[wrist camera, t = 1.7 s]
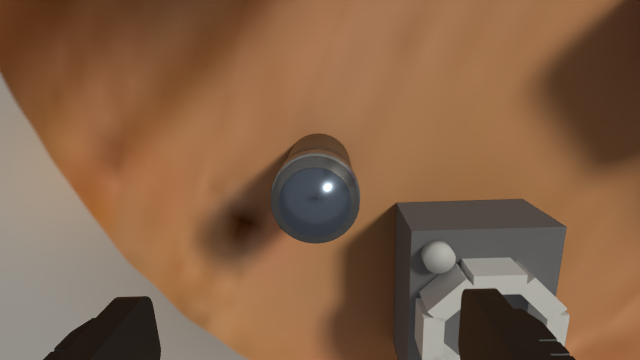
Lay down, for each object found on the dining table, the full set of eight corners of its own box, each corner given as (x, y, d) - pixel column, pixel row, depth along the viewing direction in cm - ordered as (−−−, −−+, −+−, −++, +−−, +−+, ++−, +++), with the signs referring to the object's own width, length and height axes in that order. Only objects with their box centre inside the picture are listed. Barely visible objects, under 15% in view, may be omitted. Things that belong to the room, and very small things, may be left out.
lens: (284, 133, 25) (264, 159, 18) (350, 131, 25) (361, 156, 17) (288, 196, 27) (272, 247, 19) (351, 194, 27) (362, 245, 19)
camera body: (396, 202, 27) (419, 246, 20) (522, 199, 26) (589, 241, 20) (393, 342, 30) (412, 420, 23) (506, 340, 30) (558, 418, 23)
